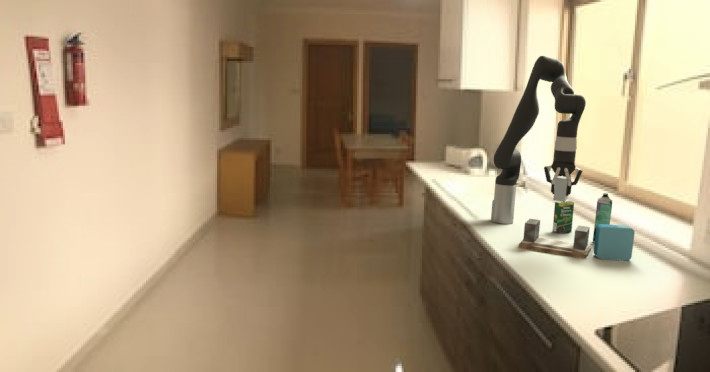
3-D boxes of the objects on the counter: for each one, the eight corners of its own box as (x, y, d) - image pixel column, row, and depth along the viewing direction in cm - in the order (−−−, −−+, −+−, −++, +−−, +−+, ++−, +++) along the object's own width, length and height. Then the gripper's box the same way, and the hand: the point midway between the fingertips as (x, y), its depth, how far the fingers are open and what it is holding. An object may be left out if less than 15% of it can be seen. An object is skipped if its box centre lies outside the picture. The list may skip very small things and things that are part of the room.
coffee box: (555, 233, 245) (558, 202, 243) (551, 231, 248) (554, 201, 245) (571, 232, 247) (575, 202, 245) (567, 230, 250) (570, 200, 248)
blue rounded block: (626, 257, 213) (630, 225, 211) (631, 261, 208) (635, 228, 206) (592, 255, 214) (596, 223, 212) (596, 258, 210) (600, 226, 208)
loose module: (552, 200, 215) (554, 178, 214) (555, 197, 221) (557, 176, 220) (564, 201, 213) (566, 180, 212) (567, 198, 219) (569, 177, 218)
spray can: (607, 242, 234) (613, 193, 230) (607, 245, 229) (613, 195, 225) (593, 240, 236) (598, 191, 232) (592, 243, 231) (597, 193, 228)
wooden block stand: (518, 247, 220) (520, 223, 218) (526, 239, 232) (528, 217, 230) (586, 258, 209) (588, 233, 207) (590, 249, 221) (593, 226, 219)
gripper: (543, 148, 214) (538, 194, 217) (584, 151, 207) (579, 198, 210) (547, 146, 220) (542, 191, 223) (587, 150, 214) (582, 195, 217)
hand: (560, 194), depth 217 cm, fingers closed on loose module, 4 cm apart
